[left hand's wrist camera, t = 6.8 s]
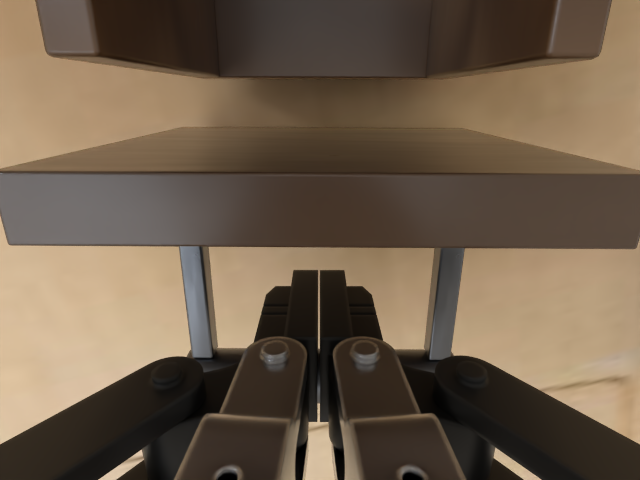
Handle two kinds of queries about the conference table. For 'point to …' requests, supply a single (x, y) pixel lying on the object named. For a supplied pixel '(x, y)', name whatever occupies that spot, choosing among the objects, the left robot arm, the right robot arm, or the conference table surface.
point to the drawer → (322, 146)
